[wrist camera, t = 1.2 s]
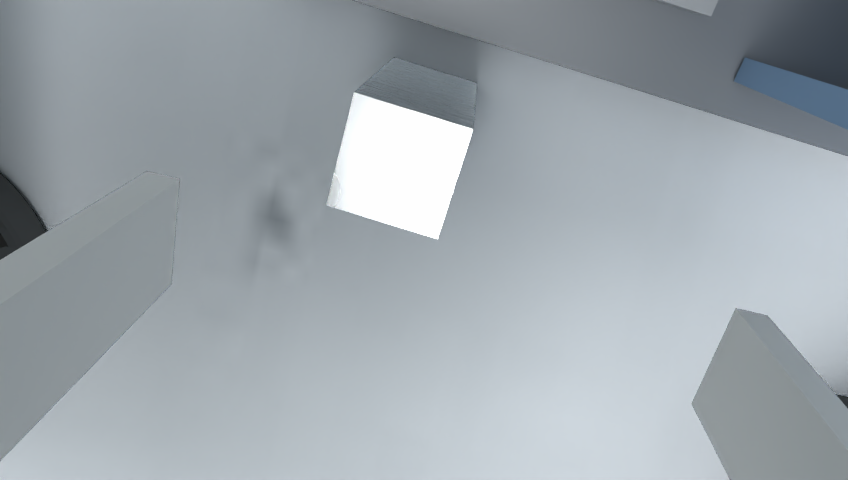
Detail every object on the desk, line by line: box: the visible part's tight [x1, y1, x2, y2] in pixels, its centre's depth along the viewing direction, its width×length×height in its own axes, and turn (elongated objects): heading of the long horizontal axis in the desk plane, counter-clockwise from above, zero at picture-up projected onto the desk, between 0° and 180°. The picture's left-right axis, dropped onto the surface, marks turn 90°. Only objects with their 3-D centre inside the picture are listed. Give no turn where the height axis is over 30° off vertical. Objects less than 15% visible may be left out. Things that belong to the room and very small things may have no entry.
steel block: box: [326, 57, 477, 239], centre depth 26 cm, size 4×4×10 cm
